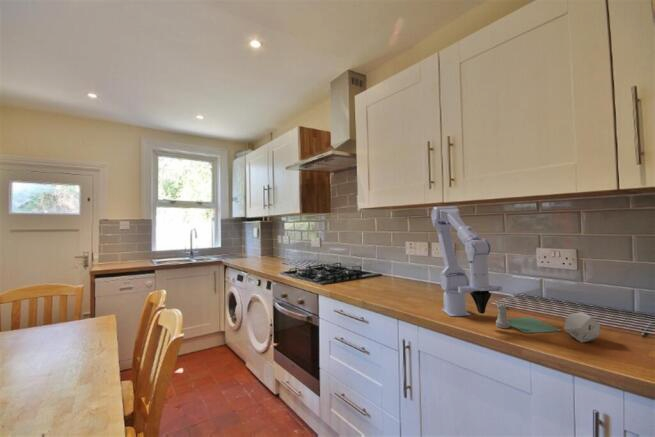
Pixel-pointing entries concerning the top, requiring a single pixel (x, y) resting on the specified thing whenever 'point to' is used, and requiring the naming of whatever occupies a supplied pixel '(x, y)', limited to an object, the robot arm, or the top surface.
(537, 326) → the felt mat
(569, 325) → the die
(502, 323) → the rook chess piece
